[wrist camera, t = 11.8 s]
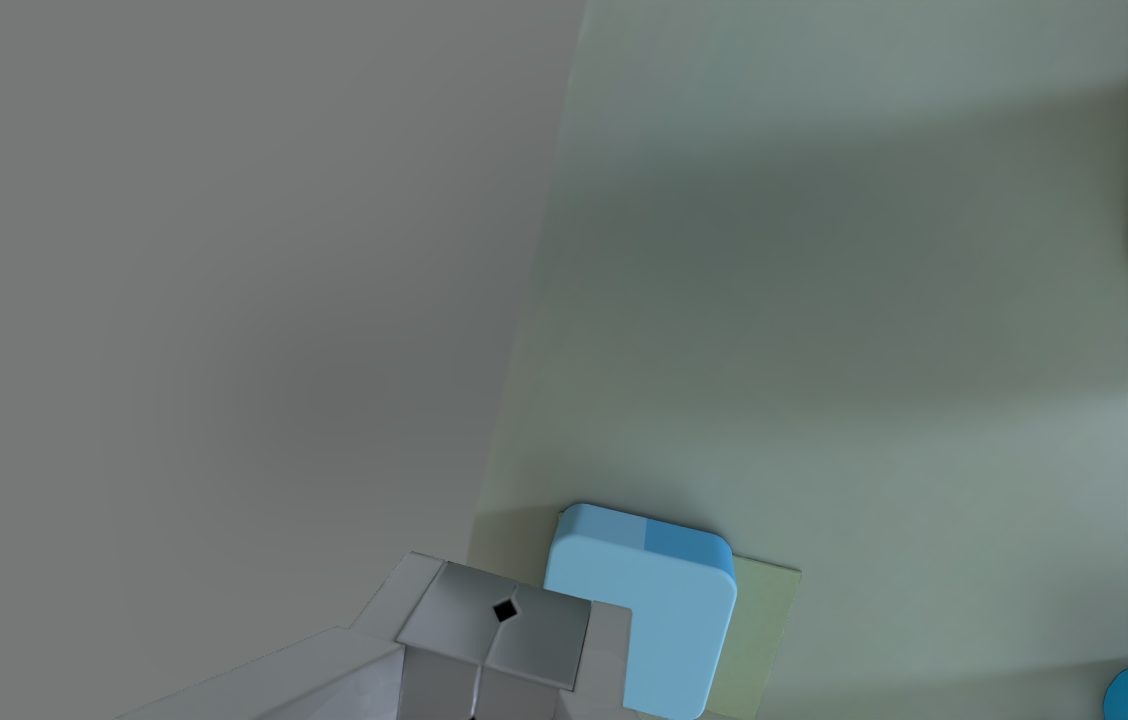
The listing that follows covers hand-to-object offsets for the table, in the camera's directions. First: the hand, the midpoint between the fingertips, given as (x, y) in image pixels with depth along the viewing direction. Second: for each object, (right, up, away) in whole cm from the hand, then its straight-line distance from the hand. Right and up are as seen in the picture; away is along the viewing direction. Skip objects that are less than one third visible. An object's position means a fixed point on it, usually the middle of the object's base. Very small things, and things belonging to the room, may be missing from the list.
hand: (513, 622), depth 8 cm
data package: (+6, -8, +33) cm, 35 cm away
